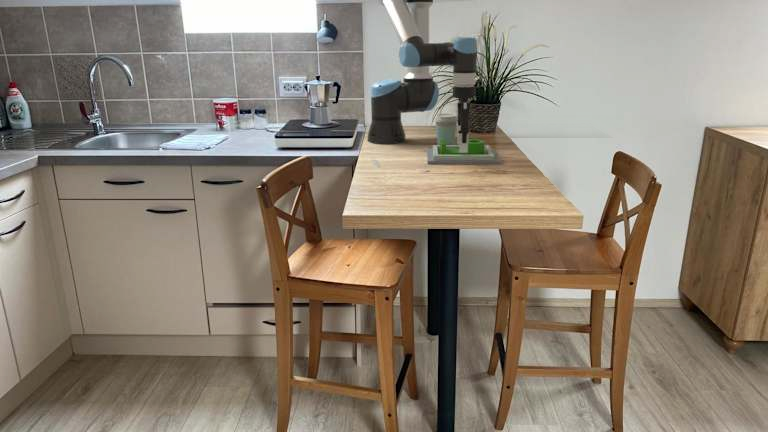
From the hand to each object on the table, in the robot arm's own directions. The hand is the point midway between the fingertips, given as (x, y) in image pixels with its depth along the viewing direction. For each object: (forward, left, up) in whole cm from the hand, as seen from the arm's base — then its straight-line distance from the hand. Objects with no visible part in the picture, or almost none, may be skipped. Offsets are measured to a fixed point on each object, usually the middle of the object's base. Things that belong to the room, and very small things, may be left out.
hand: (462, 148), depth 202 cm
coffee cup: (-5, +17, -3) cm, 18 cm away
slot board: (0, 0, -3) cm, 3 cm away
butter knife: (-27, -17, -4) cm, 32 cm away
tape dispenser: (0, 0, -2) cm, 2 cm away
